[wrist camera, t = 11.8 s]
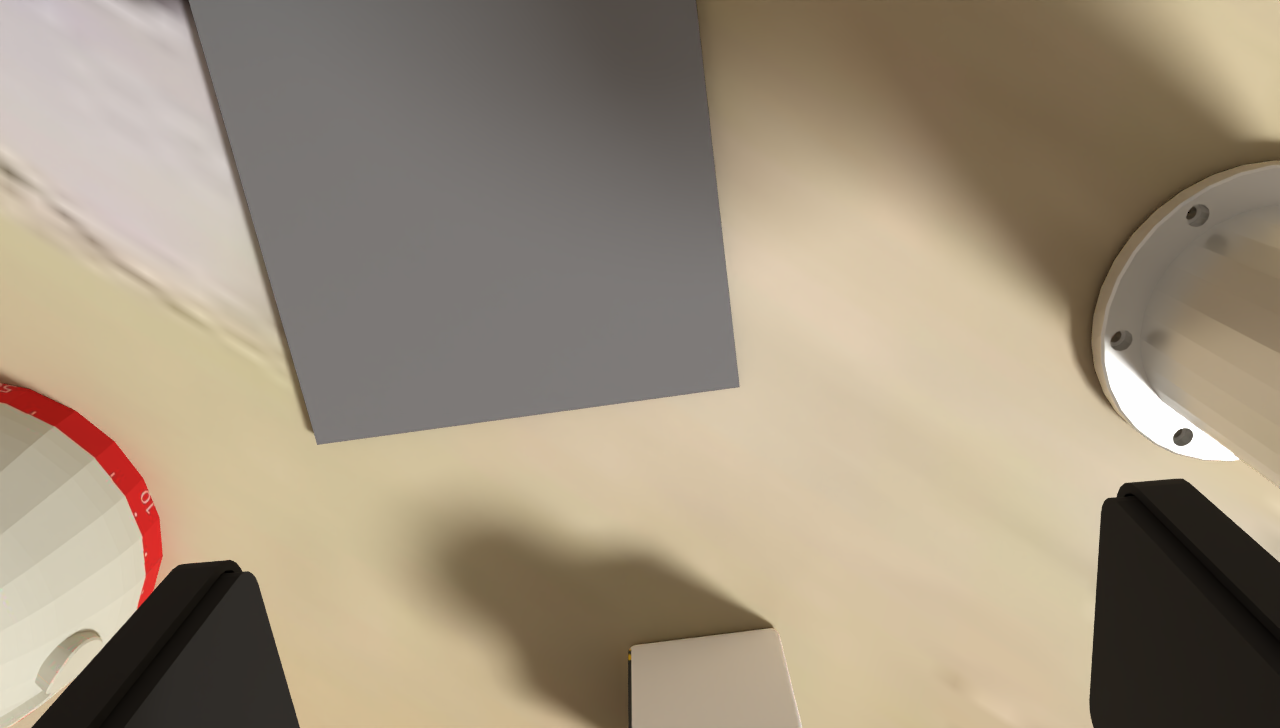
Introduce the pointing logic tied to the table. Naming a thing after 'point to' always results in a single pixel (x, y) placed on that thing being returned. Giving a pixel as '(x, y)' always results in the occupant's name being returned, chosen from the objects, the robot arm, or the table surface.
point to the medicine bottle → (712, 683)
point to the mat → (478, 202)
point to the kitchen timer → (64, 547)
